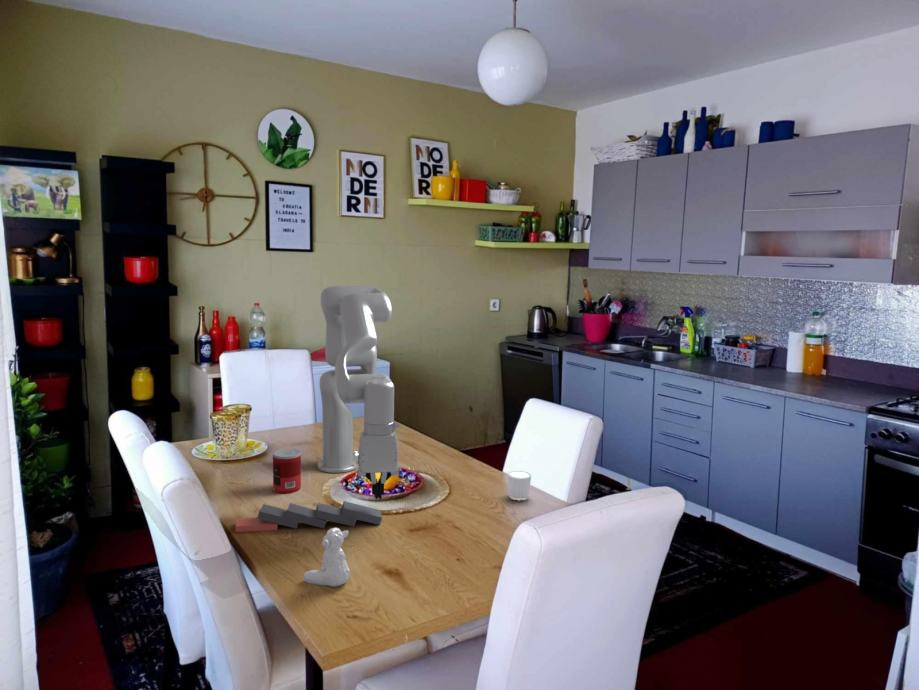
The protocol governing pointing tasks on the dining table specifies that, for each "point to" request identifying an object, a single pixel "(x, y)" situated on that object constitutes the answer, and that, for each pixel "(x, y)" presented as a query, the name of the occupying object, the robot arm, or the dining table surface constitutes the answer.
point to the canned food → (286, 471)
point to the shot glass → (519, 484)
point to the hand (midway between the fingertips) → (377, 496)
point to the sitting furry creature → (331, 561)
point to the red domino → (254, 525)
